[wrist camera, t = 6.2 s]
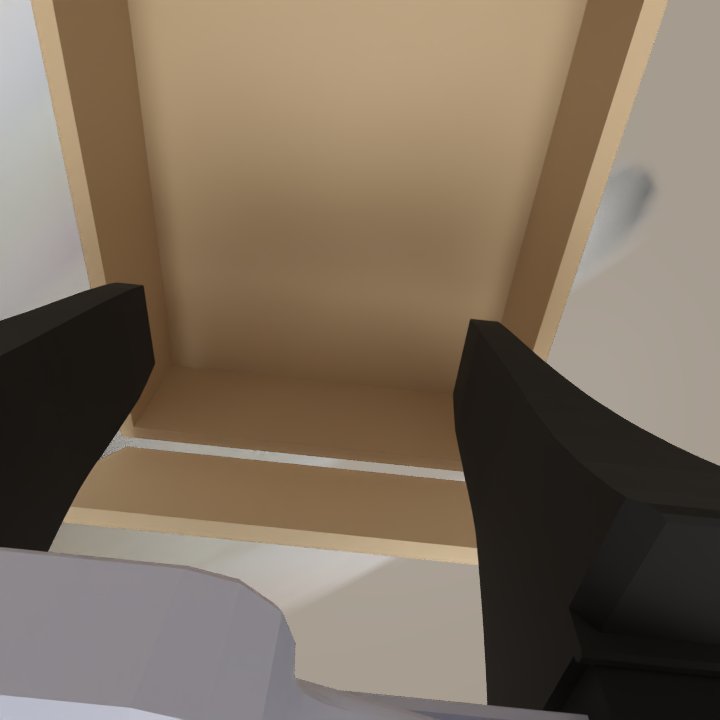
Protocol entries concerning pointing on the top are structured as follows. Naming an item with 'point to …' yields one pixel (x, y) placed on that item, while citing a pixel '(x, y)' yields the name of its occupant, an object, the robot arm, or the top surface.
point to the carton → (336, 197)
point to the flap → (279, 504)
